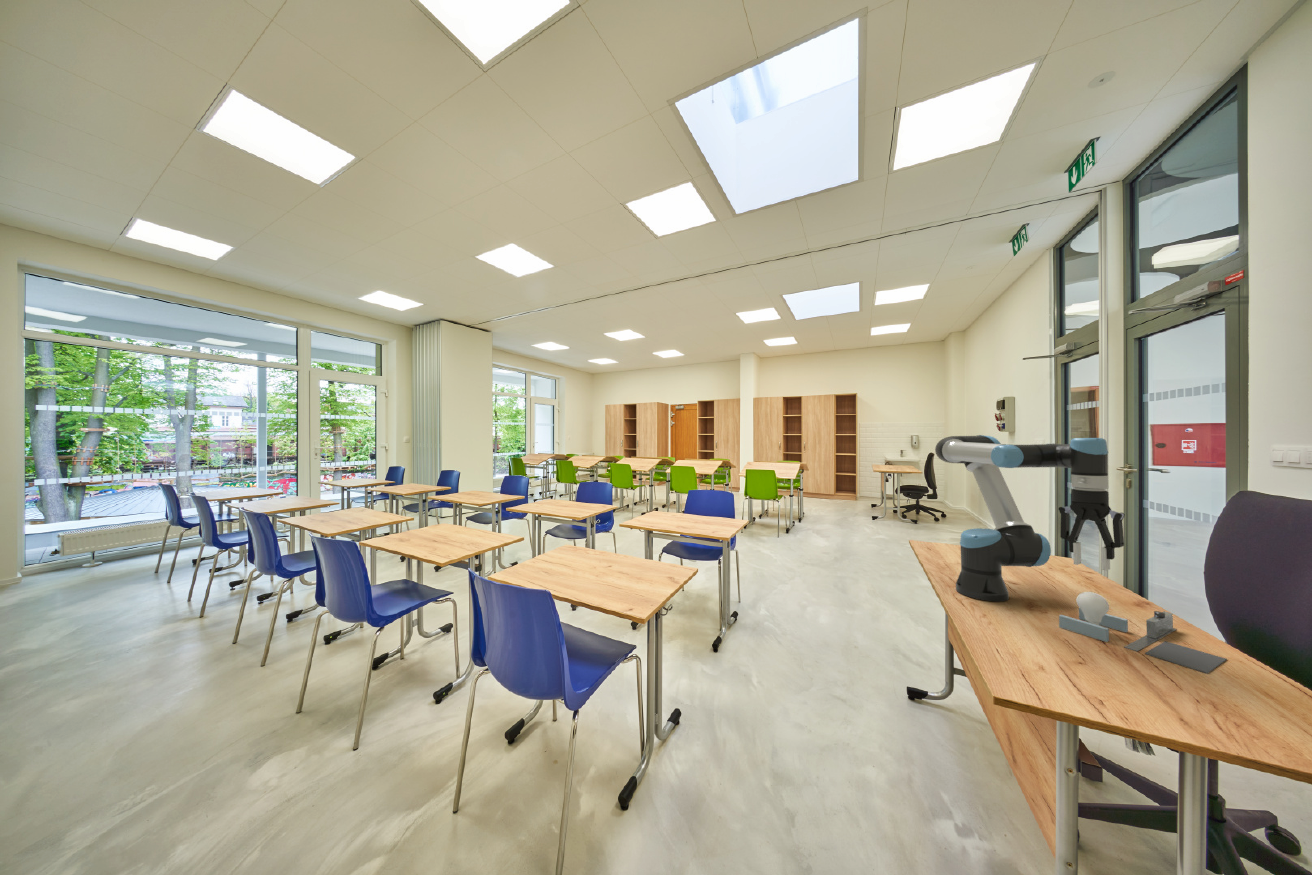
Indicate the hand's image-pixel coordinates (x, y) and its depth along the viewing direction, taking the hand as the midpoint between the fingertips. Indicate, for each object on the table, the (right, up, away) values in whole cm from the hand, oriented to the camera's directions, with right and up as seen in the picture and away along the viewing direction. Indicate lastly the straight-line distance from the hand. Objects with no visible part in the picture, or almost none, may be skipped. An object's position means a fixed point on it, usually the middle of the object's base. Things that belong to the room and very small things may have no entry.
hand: (1091, 566), depth 120 cm
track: (+11, -19, -6) cm, 22 cm away
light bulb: (0, -19, 0) cm, 19 cm away
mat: (+7, -19, -16) cm, 25 cm away
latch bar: (+16, -18, -3) cm, 25 cm away
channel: (0, -19, 0) cm, 19 cm away
